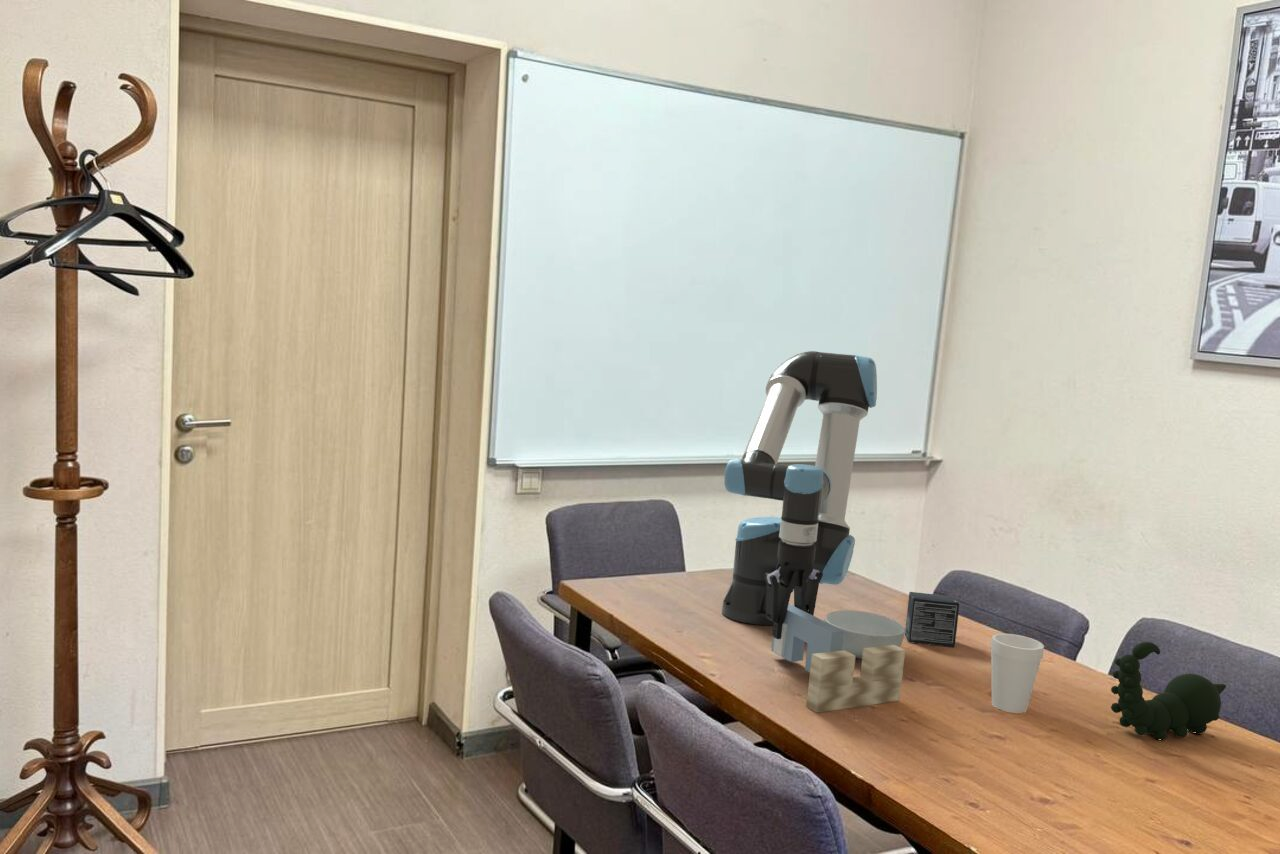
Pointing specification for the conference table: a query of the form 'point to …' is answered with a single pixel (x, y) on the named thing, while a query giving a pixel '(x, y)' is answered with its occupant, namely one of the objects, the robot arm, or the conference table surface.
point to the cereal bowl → (865, 630)
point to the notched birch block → (855, 678)
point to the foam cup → (1014, 670)
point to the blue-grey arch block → (808, 636)
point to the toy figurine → (1164, 699)
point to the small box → (932, 619)
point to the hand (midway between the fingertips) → (786, 652)
